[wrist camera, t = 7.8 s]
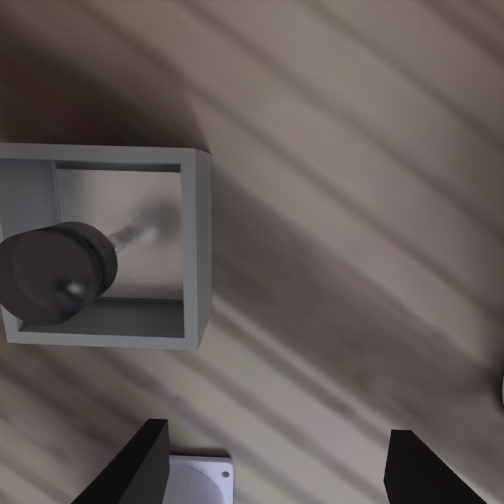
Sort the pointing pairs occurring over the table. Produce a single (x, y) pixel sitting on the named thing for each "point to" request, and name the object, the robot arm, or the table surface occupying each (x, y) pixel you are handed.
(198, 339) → the press housing
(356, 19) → the table surface
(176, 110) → the table surface
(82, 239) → the plunger
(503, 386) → the coffeepot
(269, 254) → the table surface
